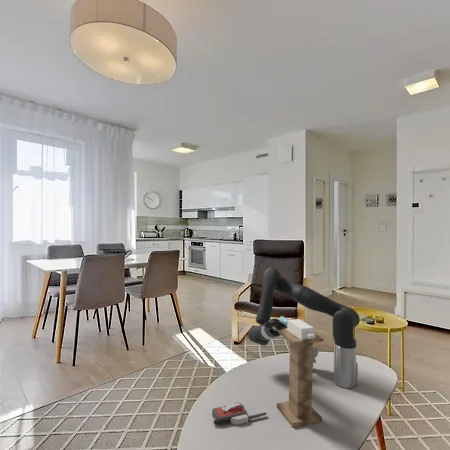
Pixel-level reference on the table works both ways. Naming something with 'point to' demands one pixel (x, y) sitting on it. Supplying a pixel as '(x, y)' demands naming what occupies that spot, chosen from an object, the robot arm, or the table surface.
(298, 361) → the stand
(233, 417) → the walkie-talkie
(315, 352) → the figurine
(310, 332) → the white block with ball
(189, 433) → the table surface
